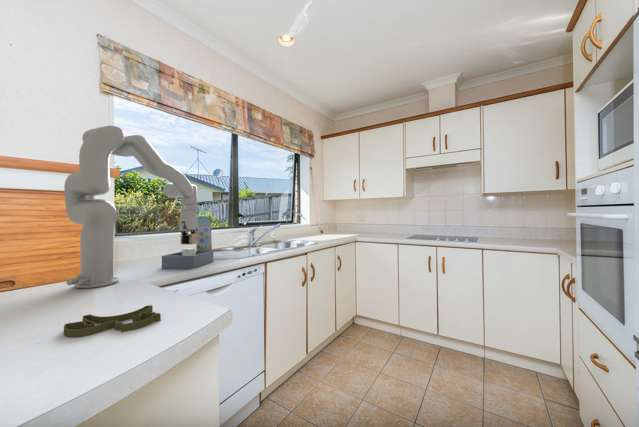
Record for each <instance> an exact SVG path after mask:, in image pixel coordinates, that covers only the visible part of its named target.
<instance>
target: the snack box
mask: <svg viewBox="0 0 639 427" xmlns="http://www.w3.org/2000/svg"><path fill="white" fill-rule="evenodd" d="M197 217H198V230H197V234H198V243H196V244H195V245H196V246H195V249H196V251H213V249H212V248H213V247H212V246H213V244H212V215H208V214H207V215H205V214H203V215H198V214H197Z"/></svg>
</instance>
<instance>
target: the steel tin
mask: <svg viewBox="0 0 639 427" xmlns="http://www.w3.org/2000/svg"><path fill="white" fill-rule="evenodd" d="M181 251H182V256H194V255H196V248H182V249H181Z"/></svg>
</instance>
